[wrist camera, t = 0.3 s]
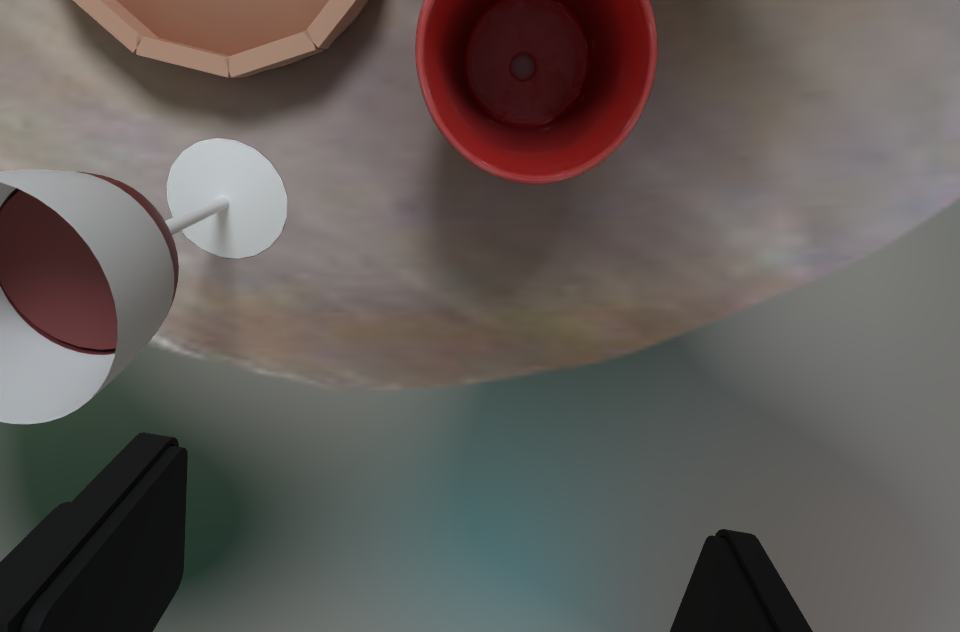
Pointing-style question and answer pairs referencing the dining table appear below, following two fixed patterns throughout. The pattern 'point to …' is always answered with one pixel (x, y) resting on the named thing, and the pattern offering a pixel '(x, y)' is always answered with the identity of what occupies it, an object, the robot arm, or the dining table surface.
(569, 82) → the flower pot
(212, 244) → the wineglass
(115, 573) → the robot arm
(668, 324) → the dining table surface
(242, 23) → the groove dish
